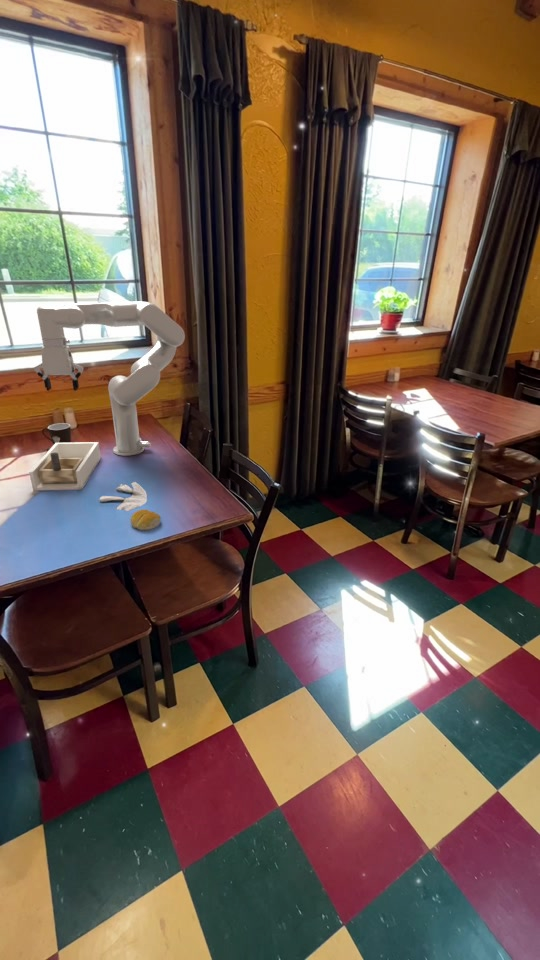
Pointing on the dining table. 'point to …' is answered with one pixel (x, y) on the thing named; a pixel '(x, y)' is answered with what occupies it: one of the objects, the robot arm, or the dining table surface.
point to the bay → (69, 450)
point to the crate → (59, 469)
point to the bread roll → (145, 520)
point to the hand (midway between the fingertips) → (62, 389)
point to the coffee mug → (59, 433)
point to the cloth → (128, 502)
